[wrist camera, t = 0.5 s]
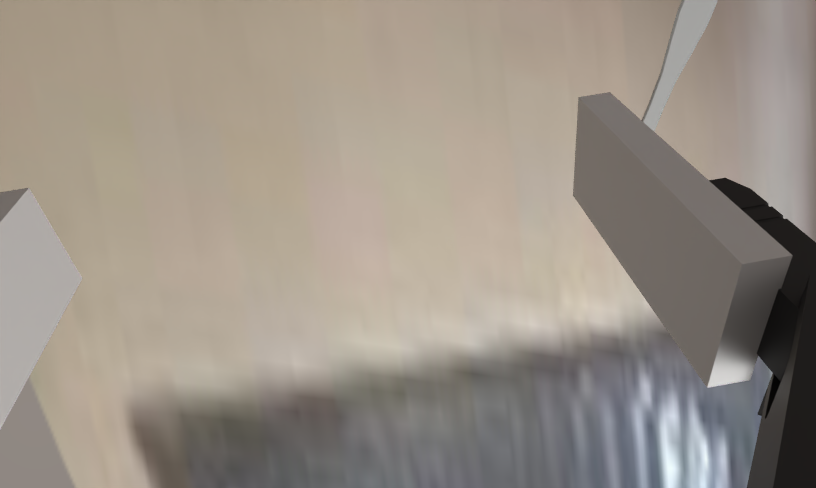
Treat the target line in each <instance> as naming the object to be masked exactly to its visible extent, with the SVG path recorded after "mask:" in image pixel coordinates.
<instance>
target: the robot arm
mask: <svg viewBox="0 0 816 488" xmlns="http://www.w3.org/2000/svg"><path fill="white" fill-rule="evenodd" d="M573 196H574V197H575V199H576V200H577V202H578V203H579V205H580V206H581V207H582V209H583V210H584V212H585V213H586V215H587V216H588V217H589V219H590V220H591V222H592V223H593V225H594V226H595V227H596V229H597V230H598V232H599V233H600V235H601V236H602V237H603V239H604V240H605V242H606V243H607V245H608V246H609V248H610V249H611V250H612V252H613V253H614V255H615V256H616V258H617V259H618V260H619V262H620V263H621V265H622V266H623V268H624V269H625V270H626V272H627V273H628V275H629V276H630V278H631V279H632V280H633V282H634V283H635V285H636V286H637V288H638V289H639V291H640V292H641V293H642V295H643V296H644V298H645V299H646V301H647V302H648V303H649V305H650V306H651V308H652V309H653V311H654V312H655V313H656V315H657V316H658V318H659V319H660V321H661V322H662V323H663V325H664V326H665V328H666V329H667V331H668V332H669V334H670V335H671V336H672V338H673V339H674V341H675V342H676V344H677V345H678V346H679V348H680V349H681V351H682V352H683V354H684V355H685V356H686V358H687V359H688V361H689V362H690V364H691V365H692V366H693V368H694V369H695V371H696V372H697V374H698V375H699V377H700V378H701V379H702V381H703V382H704V384H705V385H706V387H707V388H708V387H714V386H719V385H725V384H730V383H736V382H741V381H747V380H750V378H751V375H752V372H753V369H754V366H755V363H756V361H757V358H758V356H759V357H760V358H761V359H762V360H763V362H764V363H765V364H766V365H767V366H768V368H769V369H770V370H771V371H772V372H773V374H772V377H771V380H770V382H769V385H768V388H767V390H766V393H765V396H764V398H763V401H762V404H761V406H760V409H759V412H758V415H761V416H762V418H761V423H760V427H759V432H758V437H757V442H756V446H755V451H754V456H753V461H752V466H751V470H750V475H749V480H748V485H747V488H816V242H814V241H813V240H812V239H811V238H809V237H808V236H807V235H806V234H805V233H803V232H802V231H801V230H800V229H799V228H797V227H796V226H795V225H794V224H793V223H791V222H790V221H789V220H788V219H783V215H782V214H780V213H779V212H778V211H777V210H776V209H774V208H773V207H769V206H768V203H767V202H766V201H765V200H763V199H762V198H761V197H760V196H759V195H757V194H756V193H755V192H754V191H752V190H751V189H750V188H747V187H745V186H743V185H740V184H738V183H736V182H734V181H731V180H729V179H727V178H721V179H715V180H708V179H706V178H705V177H704V176H703V175H702V174H701V173H700V172H699V171H697V170H696V169H695V168H694V167H693V166H692V165H691V164H690V163H689V162H687V161H686V160H685V159H684V158H683V157H682V156H681V155H680V154H678V153H677V152H676V151H675V150H674V149H673V148H672V147H671V146H669V145H668V144H667V143H666V142H665V141H664V140H663V139H662V138H660V137H659V136H658V135H657V134H656V133H655V132H654V131H653V130H652V129H650V128H649V127H648V126H647V125H646V124H645V123H644V122H643V121H641V120H640V119H639V118H638V117H637V116H636V115H635V114H634V113H632V112H631V111H630V110H629V109H628V108H627V107H626V106H625V105H623V104H622V103H621V102H620V101H619V100H618V99H617V98H616V97H615V96H613V95H612V94H611V93H610V92H608V93H602V94H596V95H590V96H584V97H579V98H578V116H577V134H576V151H575V169H574V187H573ZM81 280H82V277H81V275H80V273H79V272H78V270H77V268H76V267H75V265H74V263H73V262H72V260H71V258H70V257H69V255H68V253H67V251H66V250H65V248H64V246H63V245H62V243H61V241H60V240H59V238H58V236H57V234H56V233H55V231H54V229H53V228H52V226H51V224H50V223H49V221H48V219H47V217H46V216H45V214H44V212H43V211H42V209H41V207H40V206H39V204H38V202H37V201H36V199H35V197H34V195H33V194H32V192H31V190H30V189H29V188H25V189H19V190H13V191H6V192H0V429H1V427H2V425H3V424H4V422H5V420H6V418H7V416H8V414H9V413H10V411H11V409H12V407H13V405H14V403H15V401H16V400H17V398H18V396H19V394H20V392H21V390H22V389H23V387H24V385H25V383H26V381H27V379H28V378H29V376H30V374H31V372H32V370H33V368H34V367H35V365H36V363H37V361H38V359H39V357H40V355H41V354H42V352H43V350H44V348H45V346H46V344H47V343H48V341H49V339H50V337H51V335H52V333H53V332H54V330H55V328H56V326H57V324H58V322H59V320H60V319H61V317H62V315H63V313H64V311H65V309H66V308H67V306H68V304H69V302H70V300H71V298H72V296H73V295H74V293H75V291H76V289H77V287H78V285H79V284H80V282H81Z"/></svg>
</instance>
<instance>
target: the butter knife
mask: <svg viewBox="0 0 816 488" xmlns="http://www.w3.org/2000/svg"><path fill="white" fill-rule="evenodd" d="M716 4H717V0H682V2H681V4H680V6H679V9H678V12H677V15H676V18H675V22H674V25H673V29H672V32H671V36H670V40H669V43H668V47H667V50H666V54H665V58H664V62H663V65H662V69H661V73H660V76H659V78H658V81H657V84H656V86H655V89H654V92H653V94H652V97H651V100H650V102H649V105H648V107H647V110H646V112H645V114H644V117H643V119H642V121H643V122H644V123H645V124H646V125H647V126H648V127H649V128H650V129H652V130H653V131H655V129H656V126H657V124H658V121H659V119H660V116H661V114H662V111H663V109H664V107H665V105H666V102H667V100H668V98H669V96H670V94H671V91H672V89H673V87H674V85H675V83H676V81H677V79H678V77H679V75H680V73H681V72H682V70H683V68H684V66H685V65H686V63H687V61H688V59H689V58H690V56H691V54H692V52H693V51H694V49H695V47H696V45H697V43H698V41H699V40H700V38H701V36H702V34H703V32H704V30H705V29H706V27H707V25H708V23H709V20H710V18H711V16H712V13H713V11H714V8H715V6H716Z"/></svg>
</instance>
